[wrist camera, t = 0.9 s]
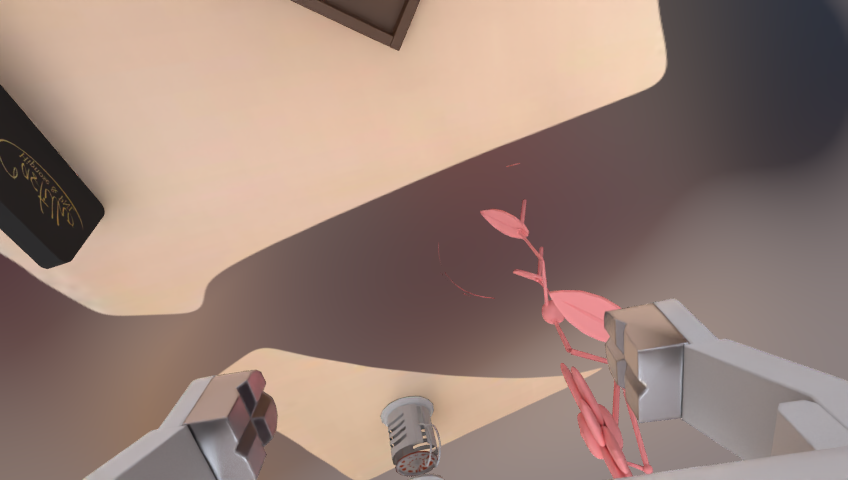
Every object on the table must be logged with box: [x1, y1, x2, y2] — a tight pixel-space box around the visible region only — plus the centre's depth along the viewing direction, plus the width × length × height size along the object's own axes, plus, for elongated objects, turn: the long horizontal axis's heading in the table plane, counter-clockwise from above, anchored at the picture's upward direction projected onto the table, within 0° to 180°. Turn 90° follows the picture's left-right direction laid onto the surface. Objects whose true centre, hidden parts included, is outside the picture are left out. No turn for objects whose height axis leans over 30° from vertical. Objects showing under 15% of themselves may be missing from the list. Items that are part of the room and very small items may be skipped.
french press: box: [381, 397, 445, 480], centre depth 71 cm, size 10×12×25 cm
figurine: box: [462, 163, 653, 479], centre depth 49 cm, size 15×26×35 cm, turn 24°
